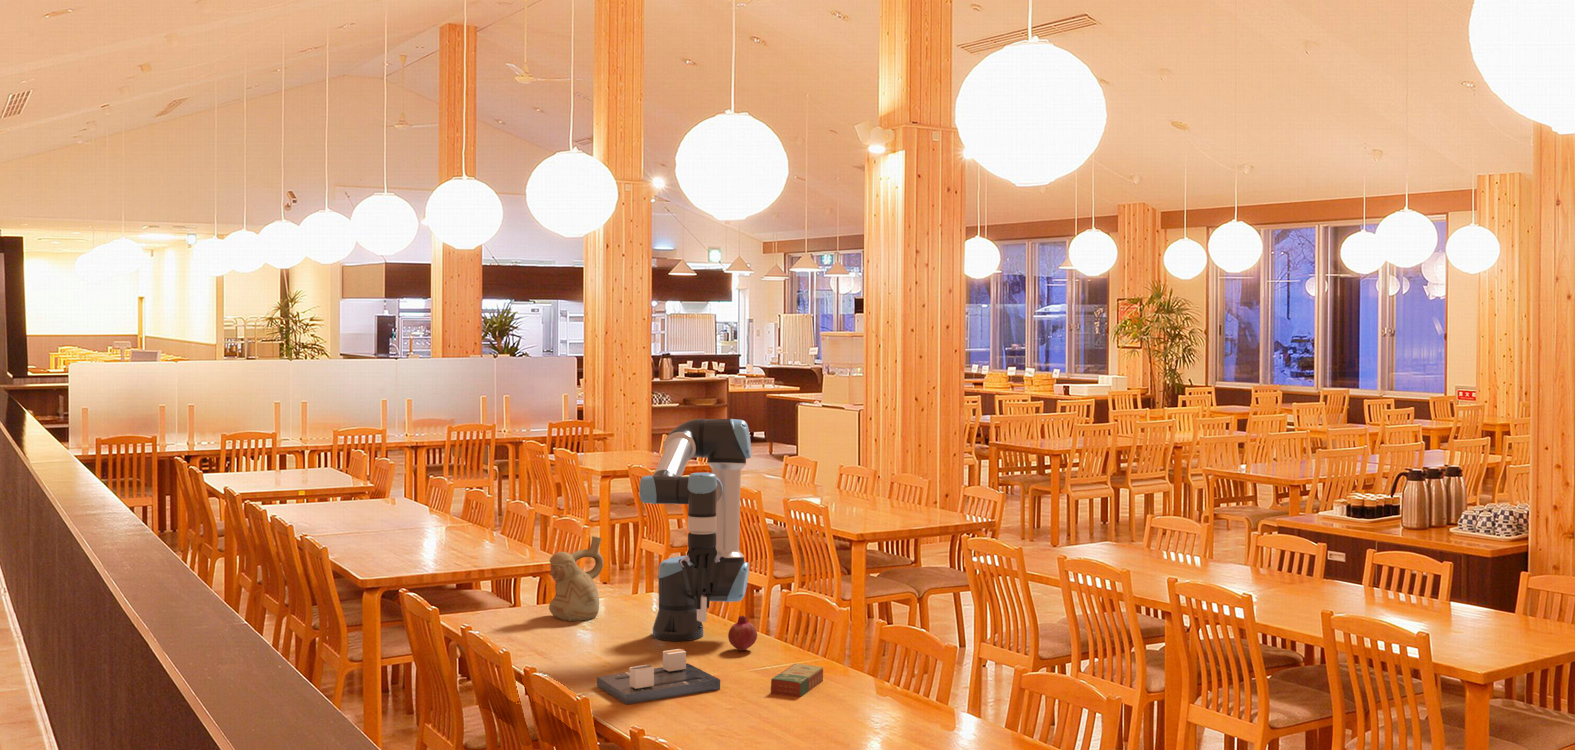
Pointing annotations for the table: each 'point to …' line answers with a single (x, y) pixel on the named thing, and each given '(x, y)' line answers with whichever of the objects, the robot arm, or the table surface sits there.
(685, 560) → the robot arm
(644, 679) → the fader grey
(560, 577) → the ceramic vessel
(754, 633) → the fruit
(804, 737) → the table surface
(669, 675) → the console
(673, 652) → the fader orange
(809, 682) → the carton
